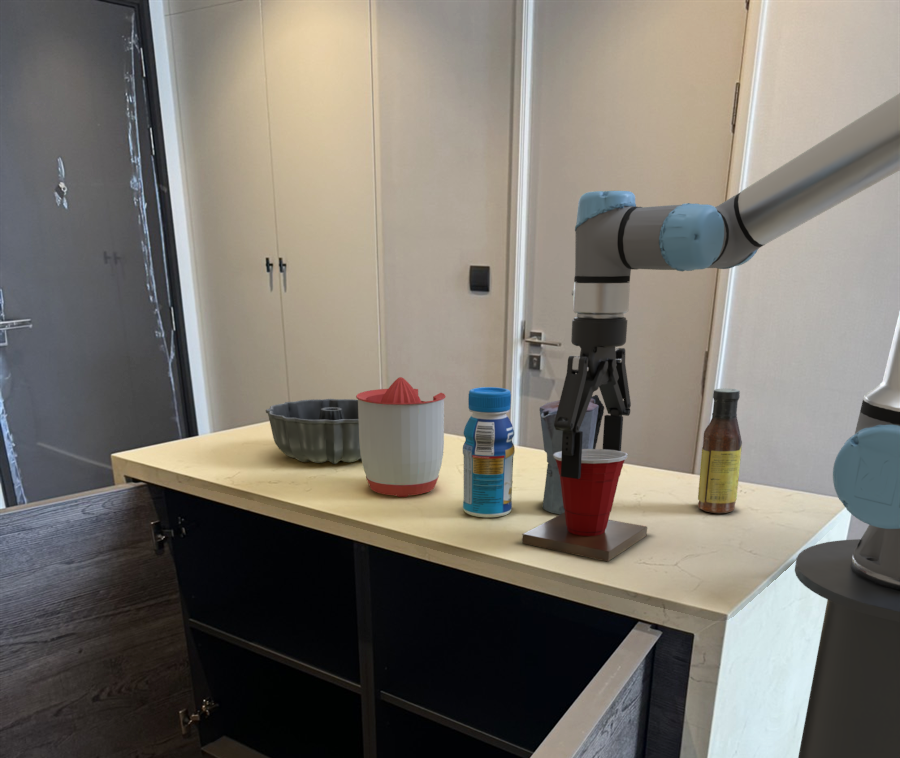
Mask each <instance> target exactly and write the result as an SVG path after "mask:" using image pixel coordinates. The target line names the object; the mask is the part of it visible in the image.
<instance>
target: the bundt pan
mask: <svg viewBox="0 0 900 758" xmlns="http://www.w3.org/2000/svg"><path fill="white" fill-rule="evenodd" d="M265 413H266V414H267V416H268V420H269V425H270V429H271V433H272V438H273V441H274V443H275V445H276V447H277V448H278V449H279V450H280V451H281V452H282V453H283V454H284V455H285V456H287V457H289V458H292V459H295V460H297V461H299V462H302V463H309V462H313V463H316V464H322V463H326V462H330V463H331V464H332V465H336V464H338V463H339V462H340V461H342V462H343V463H354V462H356V461H361V462H362V459H361V454H360V443H359V416H358V399H354V398H353V399H352V398H351V399H350V398H340V399H339V398H324V399H322V398H321V399H320V398H319V399H318V398H316V399H314V398H313V399H300V400H296V401H285V402H284V403H278V404H272V405H271V406H269V408H266V409H265Z"/></svg>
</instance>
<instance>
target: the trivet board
mask: <svg viewBox="0 0 900 758" xmlns="http://www.w3.org/2000/svg"><path fill="white" fill-rule="evenodd" d="M647 535H648V526H646V525H641V524H635V523H631V522H630V523H629V522H625V521H620V520H614V519H608V524H607V527H606V529H605V532H604V533H603V534H601V535H596V536H582V535H576V534H573V533H570V532H569V531H568V530H567V526H566V519H565V512H564V513H562V514H557V515H556V516H554V517H553V518H551V519H549V520H546V521H545V522H543V523H541V524H539V525H537V526H535V527H534V528H531V529H529V530H527V531H526V532H523V533H522V541H521V543H522V544H524V545H528V546H534V547H538V548H543V549H548V550H553V551H557V552H561V553H566V554H572V555H576V556H581V557H585V558H589V559H595V560H599V561H604V562H610V561H611V560H612V559H614V558H615V557H617V556H618V555H620V554H622V553H623V552H625V551H626V550H627V549H629V548H631V547H632V546H633V545H635V544H636V543H638V542H639V541H641V540H643V539H644V538H645V537H647Z"/></svg>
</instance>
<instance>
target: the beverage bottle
mask: <svg viewBox="0 0 900 758" xmlns="http://www.w3.org/2000/svg"><path fill="white" fill-rule="evenodd" d="M467 400H468V401H467V402H468V403H467V405H468V411H469V412H470V413H472V414H471V415H470V417H469V418H468V419H467V421H466V423H465V426H464V429H463V436H464V439H465V441H464V443H463V445H462V454H463V500H462V510H463V511H464V512H465V514H467V515H469V516H472V517H476V518H487V519H488V518H489V519H491V518H499V517H504V516H506V515H509V514H510V513H511V512H512V509H513V501H512V499H513V473H514V456H515V445H514V442H513V438H514V436H515V429H514V425H513V423H512V421H511V420H510V417H509V416H508V414H507V413H510V412H511V407H512V406H511V404H512V394H511V390H510V389H508V388H504V387H497V386H495V387H494V386H485V387H484V386H483V387H475V388H471V389H469V391H468V399H467Z"/></svg>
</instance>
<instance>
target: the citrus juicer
mask: <svg viewBox="0 0 900 758" xmlns="http://www.w3.org/2000/svg"><path fill="white" fill-rule="evenodd" d="M355 398H356V400H358V416H359V443H360V454H361V459H362V461H361V463H362V468H363V470H364V474H365V478H366V481H367V484H368V485H369V486H368V487H369V488H370V490H372V491H373V492H375V493H378V494H380V495H381V494H382V495H387V496H395V497H398V498H407V497H409V496H415V495H416V496H417V495H422V494H426V493H429V492H432V491H433V490H434V489H435V487H436V484H437V483H438V480H439V478H440V477H439V476H440V471H441V469H442V463H443V458H444V449H445V447H444V446H445V399H446V394H445V393H443V392H439V393H437V394H435V395H433V396H432V400H427V401H424V400H421V398H420V396H419V388H414V387H413V386H412V385H411V384H410V383H409V382H408V381H407V380H406V379H405V378H404V377H401V376H400V377H397V378H396V379H395V380H394V381H393V382H392V383H391V385H390V386H389V387H388V388H379V389H371V390H366V391H361V392H359V393H357V394H356V396H355Z"/></svg>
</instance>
